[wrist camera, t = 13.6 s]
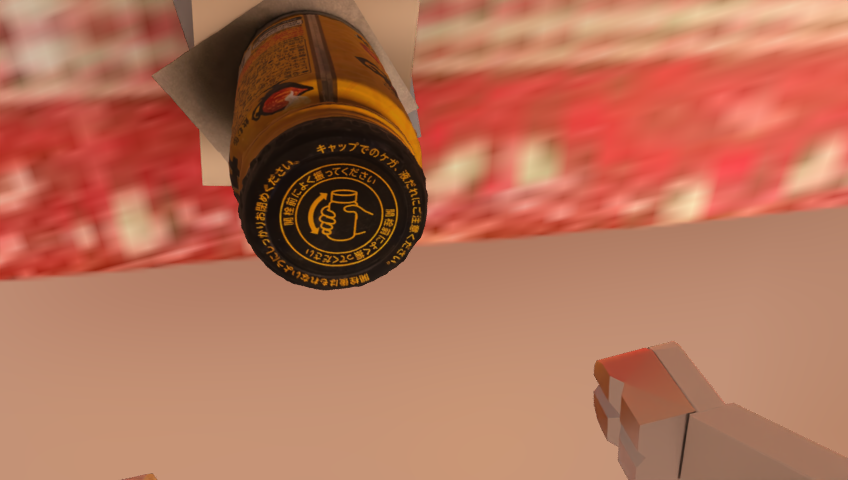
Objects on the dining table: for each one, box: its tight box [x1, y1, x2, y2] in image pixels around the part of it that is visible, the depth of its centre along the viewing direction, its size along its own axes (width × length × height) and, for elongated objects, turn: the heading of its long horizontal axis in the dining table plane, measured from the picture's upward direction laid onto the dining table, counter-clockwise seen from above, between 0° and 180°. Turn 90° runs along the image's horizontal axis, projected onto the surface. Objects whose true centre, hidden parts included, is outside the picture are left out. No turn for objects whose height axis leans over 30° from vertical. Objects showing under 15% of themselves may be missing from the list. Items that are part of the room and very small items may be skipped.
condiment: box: [152, 0, 428, 290], centre depth 23 cm, size 7×8×12 cm
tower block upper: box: [192, 0, 420, 186], centre depth 30 cm, size 9×9×4 cm
